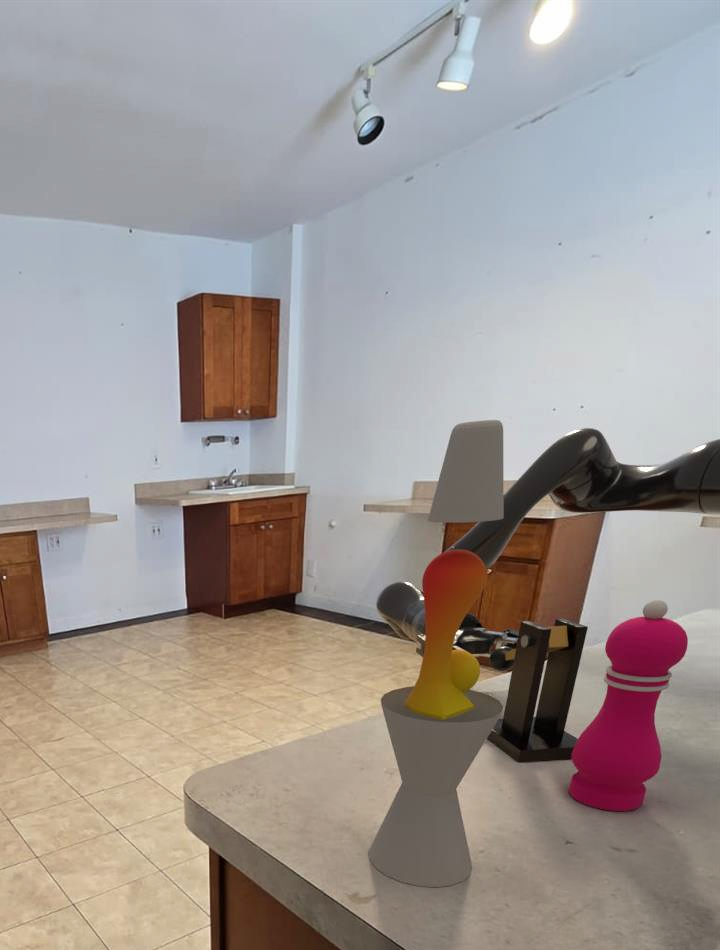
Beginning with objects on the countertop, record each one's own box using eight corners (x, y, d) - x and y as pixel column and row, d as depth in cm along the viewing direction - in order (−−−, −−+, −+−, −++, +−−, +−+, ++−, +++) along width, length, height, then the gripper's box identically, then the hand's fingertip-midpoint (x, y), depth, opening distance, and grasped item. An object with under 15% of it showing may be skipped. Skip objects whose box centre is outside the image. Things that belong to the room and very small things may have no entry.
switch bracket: (476, 731, 83) (495, 617, 77) (538, 727, 83) (562, 612, 77) (518, 762, 74) (543, 636, 68) (587, 758, 74) (619, 631, 68)
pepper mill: (658, 818, 61) (725, 608, 53) (571, 809, 64) (621, 607, 55) (635, 785, 67) (692, 592, 59) (556, 778, 70) (599, 592, 61)
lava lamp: (430, 901, 52) (504, 415, 37) (345, 854, 59) (378, 429, 44) (496, 863, 56) (585, 412, 41) (408, 823, 63) (458, 426, 49)
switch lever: (485, 674, 85) (483, 650, 85) (510, 672, 84) (507, 648, 85) (545, 651, 72) (542, 623, 72) (573, 649, 71) (571, 621, 72)
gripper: (401, 609, 97) (448, 634, 83) (495, 603, 97) (558, 627, 82) (396, 657, 101) (440, 689, 86) (487, 651, 100) (546, 682, 86)
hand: (498, 659), depth 84 cm, fingers open, 8 cm apart
